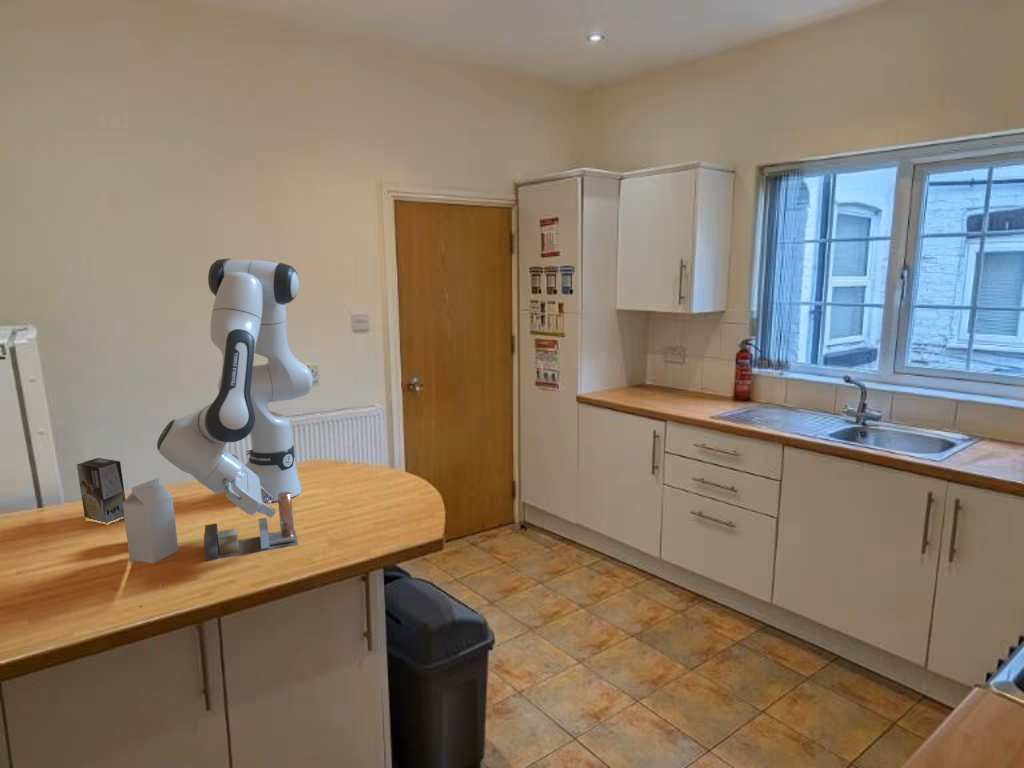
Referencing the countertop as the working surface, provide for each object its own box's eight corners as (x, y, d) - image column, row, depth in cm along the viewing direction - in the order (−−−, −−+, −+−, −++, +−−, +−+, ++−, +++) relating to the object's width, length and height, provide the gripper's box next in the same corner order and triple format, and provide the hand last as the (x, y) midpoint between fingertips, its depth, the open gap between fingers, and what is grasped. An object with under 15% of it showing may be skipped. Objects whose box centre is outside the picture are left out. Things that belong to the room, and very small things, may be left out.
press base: (206, 566, 146) (203, 540, 144) (208, 550, 154) (205, 525, 152) (298, 550, 153) (296, 525, 152) (295, 536, 161) (293, 511, 160)
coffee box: (129, 517, 175) (122, 460, 172) (107, 526, 169) (99, 467, 166) (106, 512, 178) (98, 457, 175) (83, 521, 172) (75, 464, 169)
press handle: (261, 549, 150) (257, 503, 148) (260, 535, 157) (256, 492, 155) (295, 543, 153) (292, 498, 151) (293, 530, 160) (289, 488, 158)
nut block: (219, 553, 149) (218, 537, 148) (220, 546, 152) (218, 531, 152) (238, 550, 150) (236, 534, 149) (238, 543, 154) (236, 528, 153)
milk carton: (179, 556, 151) (170, 479, 148) (153, 569, 145) (143, 489, 141) (156, 551, 153) (146, 476, 150) (130, 565, 147) (119, 486, 143)
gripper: (233, 476, 139) (284, 512, 144) (233, 452, 157) (278, 484, 163) (212, 499, 138) (265, 534, 144) (215, 471, 157) (261, 503, 162)
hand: (272, 507), depth 153 cm, fingers open, 8 cm apart
